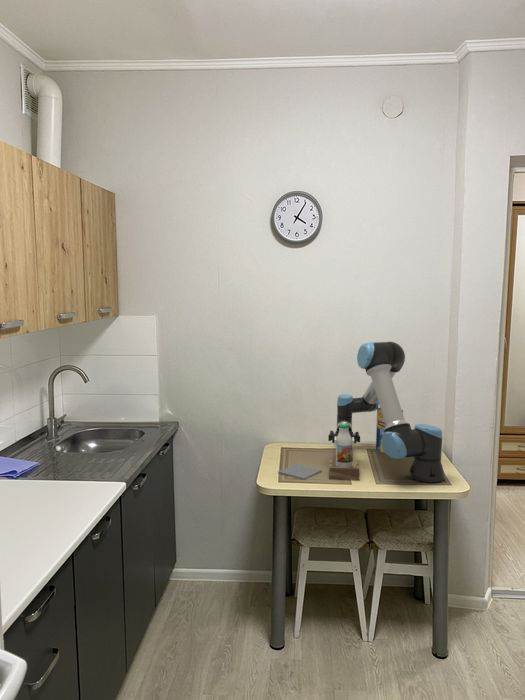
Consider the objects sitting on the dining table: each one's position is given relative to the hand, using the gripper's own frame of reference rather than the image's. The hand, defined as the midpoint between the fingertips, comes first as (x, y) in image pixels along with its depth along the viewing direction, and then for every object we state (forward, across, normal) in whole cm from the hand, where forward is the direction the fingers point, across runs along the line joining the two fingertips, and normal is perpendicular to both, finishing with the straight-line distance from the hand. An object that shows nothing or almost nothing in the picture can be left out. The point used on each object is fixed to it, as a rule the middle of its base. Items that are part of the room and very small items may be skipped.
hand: (344, 443), depth 262 cm
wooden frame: (+5, 0, -13) cm, 14 cm away
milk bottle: (-4, 0, -12) cm, 13 cm away
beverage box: (-33, -22, -13) cm, 42 cm away
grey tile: (+5, +20, -13) cm, 24 cm away
